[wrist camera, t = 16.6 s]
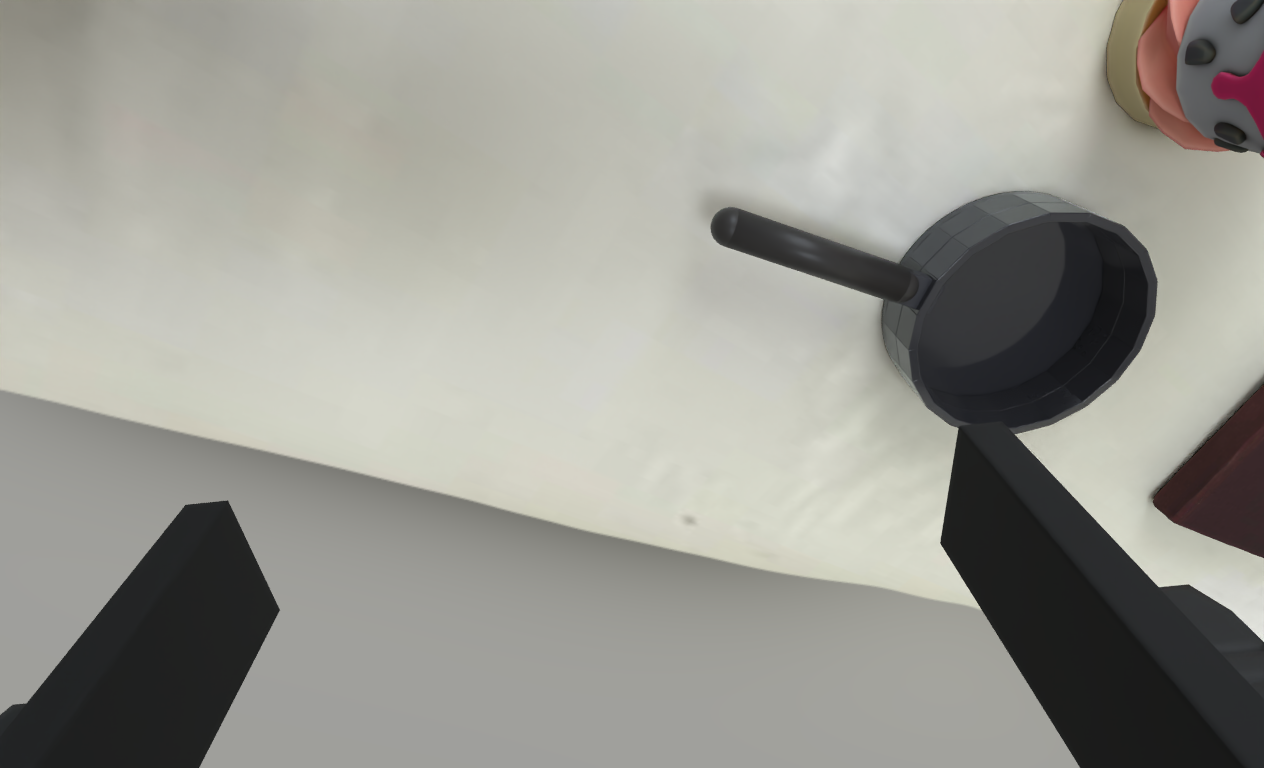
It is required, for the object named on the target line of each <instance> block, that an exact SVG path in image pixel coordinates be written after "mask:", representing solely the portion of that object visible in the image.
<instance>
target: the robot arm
mask: <svg viewBox="0 0 1264 768" xmlns="http://www.w3.org/2000/svg"><path fill="white" fill-rule="evenodd" d="M940 544H941V545H942V547H943V548H944V550H945V552H946V553H947V555H948V556H949V558H950V560H951V561H952V563H953V564H954V566H955V568H956V569H957V571H958V572H959V574H960V576H961V577H962V579H963V580H964V582H965V584H966V585H967V587H968V588H969V590H970V592H971V593H972V595H973V596H974V598H975V600H976V601H977V603H978V604H979V606H980V608H981V609H982V611H983V612H984V614H985V616H986V617H987V619H988V620H989V622H990V624H991V625H992V627H993V629H994V630H995V631H996V633H997V635H998V636H999V638H1000V640H1001V641H1002V643H1003V644H1004V646H1005V648H1006V649H1007V651H1008V652H1009V654H1010V656H1011V657H1012V659H1013V661H1014V662H1015V664H1016V665H1017V667H1018V669H1019V670H1020V672H1021V673H1022V675H1023V676H1024V678H1025V680H1026V681H1027V683H1028V684H1029V686H1030V688H1031V689H1032V691H1033V692H1034V694H1035V696H1036V697H1037V699H1038V701H1039V702H1040V704H1041V705H1042V707H1043V709H1044V710H1045V712H1046V714H1047V715H1048V717H1049V718H1050V719H1051V721H1052V723H1053V725H1054V726H1055V728H1056V730H1057V731H1058V733H1059V734H1060V736H1061V738H1062V739H1063V741H1064V742H1065V744H1066V746H1067V747H1068V749H1069V750H1070V752H1071V754H1072V755H1073V757H1074V758H1075V760H1076V762H1077V763H1078V765H1079V766H1080V768H1264V642H1263V641H1262V640H1261V639H1260V638H1259V637H1258V636H1257V635H1256V634H1255V633H1254V632H1253V631H1252V630H1251V629H1250V628H1249V627H1248V626H1247V625H1246V624H1245V623H1244V622H1243V621H1242V620H1241V619H1239V618H1238V617H1237V616H1236V615H1235V614H1234V613H1233V612H1232V611H1231V610H1229V609H1228V608H1226V607H1224V606H1223V605H1221V604H1219V603H1218V602H1216V601H1215V600H1213V599H1211V598H1210V597H1208V596H1206V595H1205V594H1203V593H1202V592H1200V591H1198V590H1197V589H1195V588H1193V587H1192V586H1190V585H1179V586H1169V587H1158V586H1157V585H1156V584H1155V583H1154V582H1153V581H1152V580H1151V579H1150V578H1149V577H1148V576H1147V574H1146V573H1145V572H1144V571H1143V570H1142V569H1141V568H1140V567H1139V566H1138V565H1137V564H1136V563H1135V562H1134V561H1133V560H1132V559H1131V558H1130V556H1129V555H1128V554H1127V553H1126V552H1125V551H1124V550H1123V549H1122V548H1121V547H1120V546H1119V545H1118V544H1117V543H1116V542H1115V541H1114V540H1113V538H1112V537H1111V536H1110V535H1109V534H1108V533H1107V532H1106V531H1105V530H1104V529H1103V528H1102V527H1101V526H1100V525H1099V524H1098V523H1097V522H1096V520H1095V519H1094V518H1093V517H1092V516H1091V515H1090V514H1089V513H1088V512H1087V511H1086V510H1085V509H1084V508H1083V507H1082V506H1081V505H1080V503H1079V502H1078V501H1077V500H1076V499H1075V498H1074V497H1073V496H1072V495H1071V494H1070V493H1069V492H1068V491H1067V490H1066V489H1065V488H1064V487H1063V485H1062V484H1061V483H1060V482H1059V481H1058V480H1057V479H1056V478H1055V477H1054V476H1053V475H1052V474H1051V473H1050V472H1049V471H1048V470H1047V469H1046V467H1045V466H1044V465H1043V464H1042V463H1041V462H1040V461H1039V460H1038V459H1037V458H1036V457H1035V456H1034V455H1033V454H1032V453H1031V452H1030V451H1029V449H1028V448H1027V447H1026V446H1025V445H1024V444H1023V443H1022V442H1021V441H1020V440H1019V439H1018V438H1017V437H1016V436H1015V435H1014V434H1013V433H1012V431H1011V430H1010V429H1009V428H1008V427H1007V426H1006V425H1005V424H1004V423H1003V422H1002V421H1000V422H991V423H981V424H971V425H961V426H959V429H958V435H957V441H956V448H955V454H954V460H953V466H952V473H951V479H950V485H949V492H948V498H947V504H946V510H945V517H944V523H943V529H942V536H941V542H940ZM279 611H280V609H279V607H278V605H277V603H276V601H275V599H274V597H273V595H272V593H271V591H270V588H269V587H268V584H267V582H266V580H265V578H264V576H263V574H262V571H261V569H260V567H259V565H258V563H257V561H256V559H255V557H254V555H253V553H252V550H251V548H250V546H249V544H248V542H247V540H246V538H245V536H244V533H243V531H242V529H241V527H240V525H239V523H238V521H237V519H236V517H235V514H234V512H233V510H232V508H231V506H230V504H229V502H228V501H219V502H210V503H200V504H190V505H185V506H184V508H183V509H182V510H181V512H180V513H179V514H178V515H177V516H176V518H175V519H174V520H173V521H172V523H171V524H170V525H169V526H168V528H167V529H166V530H165V531H164V533H163V534H162V535H161V536H160V538H159V539H158V540H157V542H156V543H155V544H154V545H153V546H152V548H151V549H150V550H149V551H148V553H147V554H146V555H145V556H144V558H143V559H142V560H141V561H140V563H139V564H138V565H137V566H136V568H135V569H134V570H133V572H132V573H131V574H130V575H129V576H128V578H127V579H126V580H125V581H124V583H123V584H122V585H121V586H120V588H119V589H118V590H117V591H116V593H115V594H114V595H113V596H112V598H111V599H110V600H109V601H108V603H107V604H106V605H105V606H104V608H103V609H102V610H101V612H100V613H99V614H98V615H97V616H96V618H95V619H94V620H93V621H92V623H91V624H90V625H89V626H88V628H87V629H86V630H85V631H84V633H83V634H82V635H81V636H80V638H79V639H78V640H77V641H76V643H75V644H74V645H73V646H72V648H71V649H70V650H69V651H68V653H67V654H66V655H65V656H64V658H63V659H62V660H61V661H60V663H59V664H58V665H57V666H56V668H55V669H54V670H53V671H52V673H51V674H50V675H49V676H48V678H47V679H46V680H45V681H44V683H43V684H42V685H41V686H40V688H39V689H38V690H37V691H36V693H35V694H34V695H33V696H32V698H31V699H30V700H29V701H28V703H27V704H16V705H12V706H11V707H9V708H8V709H7V710H6V711H5V712H3V713H2V714H1V715H0V768H199V767H200V765H201V763H202V761H203V759H204V757H205V755H206V753H207V751H208V749H209V747H210V745H211V743H212V741H213V740H214V738H215V736H216V733H217V732H218V730H219V728H220V726H221V724H222V722H223V720H224V718H225V716H226V714H227V712H228V710H229V708H230V706H231V704H232V702H233V700H234V699H235V696H236V695H237V692H238V691H239V689H240V687H241V685H242V683H243V681H244V679H245V677H246V675H247V673H248V671H249V669H250V667H251V665H252V663H253V661H254V659H255V658H256V656H257V654H258V652H259V650H260V648H261V646H262V644H263V642H264V640H265V638H266V636H267V634H268V632H269V630H270V628H271V626H272V624H273V622H274V620H275V618H276V616H277V614H278V612H279Z"/></svg>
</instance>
